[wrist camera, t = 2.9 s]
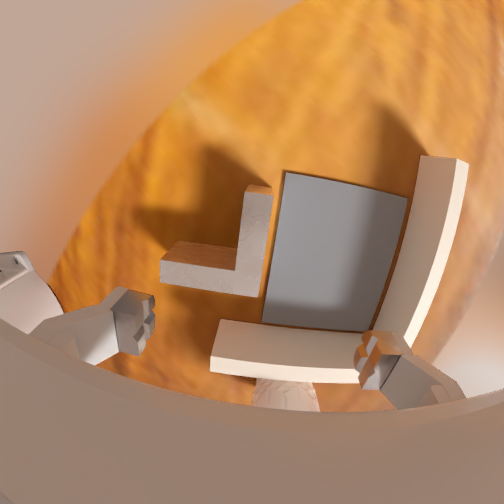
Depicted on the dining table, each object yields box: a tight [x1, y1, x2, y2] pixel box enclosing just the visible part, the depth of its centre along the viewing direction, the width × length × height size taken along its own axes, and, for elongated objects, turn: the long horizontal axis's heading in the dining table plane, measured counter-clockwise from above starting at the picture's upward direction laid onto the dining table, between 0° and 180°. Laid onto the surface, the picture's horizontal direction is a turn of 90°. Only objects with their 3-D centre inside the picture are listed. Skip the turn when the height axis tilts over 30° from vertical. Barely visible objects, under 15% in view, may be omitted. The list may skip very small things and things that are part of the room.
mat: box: [261, 172, 408, 331], centre depth 25 cm, size 12×15×1 cm
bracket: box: [160, 184, 274, 297], centre depth 22 cm, size 8×8×5 cm
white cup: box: [251, 378, 320, 412], centre depth 26 cm, size 8×8×10 cm
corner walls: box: [210, 155, 469, 383], centre depth 22 cm, size 18×22×6 cm
